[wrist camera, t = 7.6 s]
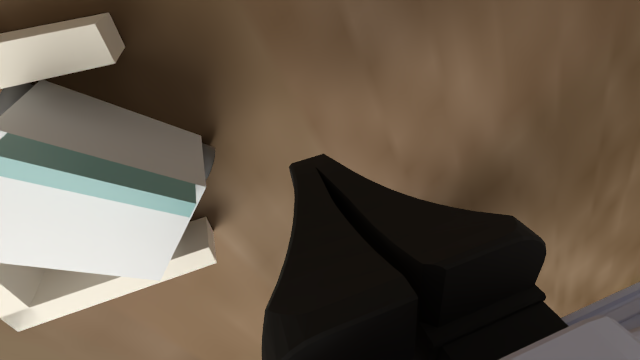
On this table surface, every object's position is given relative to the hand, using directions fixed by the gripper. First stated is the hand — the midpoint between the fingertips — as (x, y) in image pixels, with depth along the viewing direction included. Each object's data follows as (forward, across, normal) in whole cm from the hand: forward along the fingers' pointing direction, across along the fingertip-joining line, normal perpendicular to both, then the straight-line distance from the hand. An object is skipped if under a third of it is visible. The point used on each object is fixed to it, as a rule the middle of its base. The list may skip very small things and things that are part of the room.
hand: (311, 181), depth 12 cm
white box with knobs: (+6, +8, 0) cm, 9 cm away
